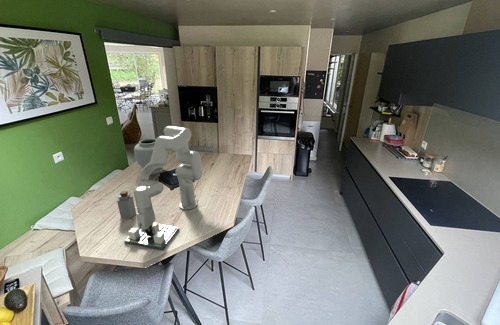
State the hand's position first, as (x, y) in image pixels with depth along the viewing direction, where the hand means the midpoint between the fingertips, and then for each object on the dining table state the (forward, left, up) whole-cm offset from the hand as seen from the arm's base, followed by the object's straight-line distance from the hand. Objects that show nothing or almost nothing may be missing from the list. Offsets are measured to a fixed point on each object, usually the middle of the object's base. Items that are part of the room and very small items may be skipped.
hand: (149, 235), depth 137 cm
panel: (-2, 0, -3) cm, 4 cm away
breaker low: (+3, -8, -1) cm, 8 cm away
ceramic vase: (-86, -55, -3) cm, 103 cm away
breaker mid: (-5, 0, -1) cm, 5 cm away
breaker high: (+3, +8, -1) cm, 8 cm away
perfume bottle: (-17, -28, -3) cm, 33 cm away
